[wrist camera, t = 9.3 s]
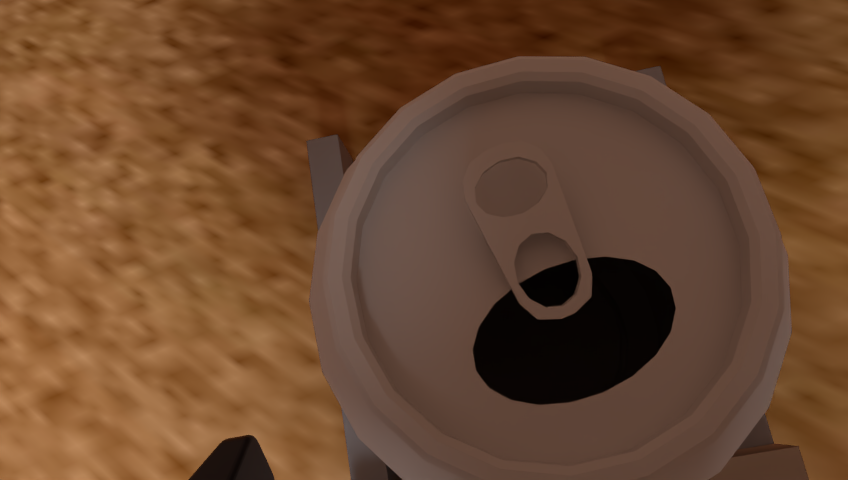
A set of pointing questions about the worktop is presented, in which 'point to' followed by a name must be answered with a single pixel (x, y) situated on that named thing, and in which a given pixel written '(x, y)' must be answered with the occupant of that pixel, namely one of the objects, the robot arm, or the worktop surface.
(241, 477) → the robot arm
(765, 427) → the guide rails
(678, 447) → the can
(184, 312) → the worktop surface
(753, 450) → the stop block
